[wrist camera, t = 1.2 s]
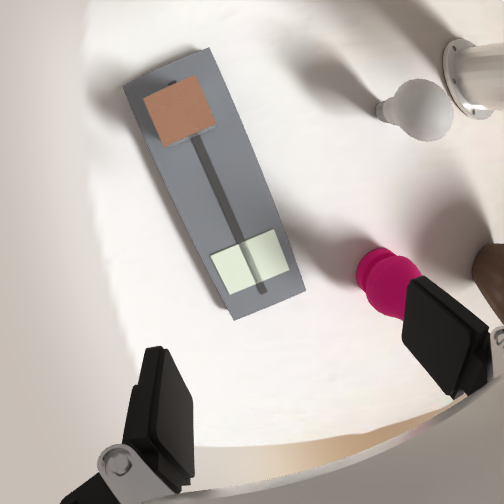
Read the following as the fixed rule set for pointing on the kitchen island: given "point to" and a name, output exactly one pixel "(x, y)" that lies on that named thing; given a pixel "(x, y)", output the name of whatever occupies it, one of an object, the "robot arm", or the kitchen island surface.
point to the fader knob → (180, 112)
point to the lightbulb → (418, 110)
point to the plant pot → (491, 276)
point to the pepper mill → (386, 280)
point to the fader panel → (221, 193)
